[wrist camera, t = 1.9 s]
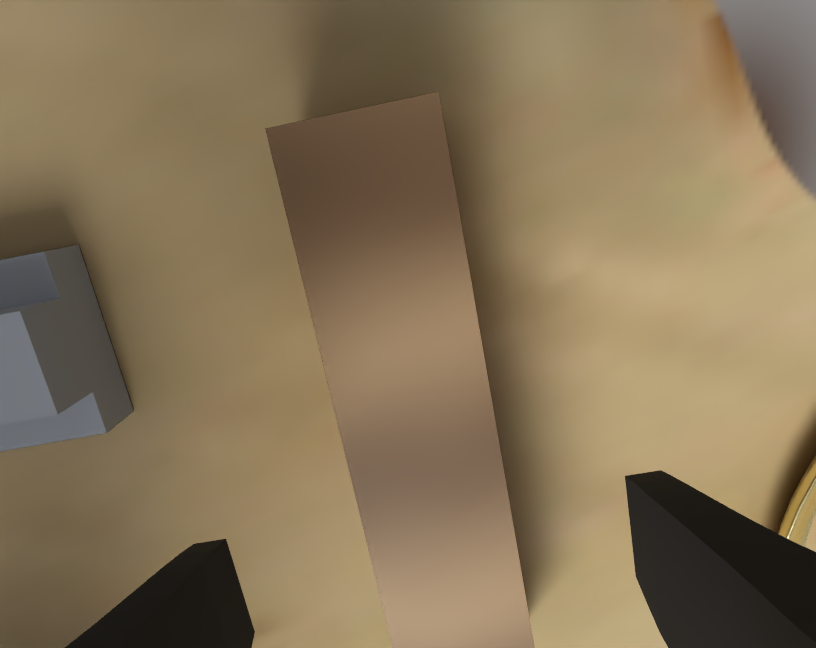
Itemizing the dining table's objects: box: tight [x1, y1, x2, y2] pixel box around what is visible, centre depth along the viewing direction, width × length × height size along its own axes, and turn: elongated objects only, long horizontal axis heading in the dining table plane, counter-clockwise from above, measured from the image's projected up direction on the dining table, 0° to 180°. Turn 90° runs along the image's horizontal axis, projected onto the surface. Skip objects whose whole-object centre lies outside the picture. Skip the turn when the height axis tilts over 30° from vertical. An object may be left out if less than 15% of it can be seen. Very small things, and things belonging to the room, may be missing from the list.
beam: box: [266, 92, 535, 648], centre depth 15 cm, size 16×4×4 cm, turn 11°
